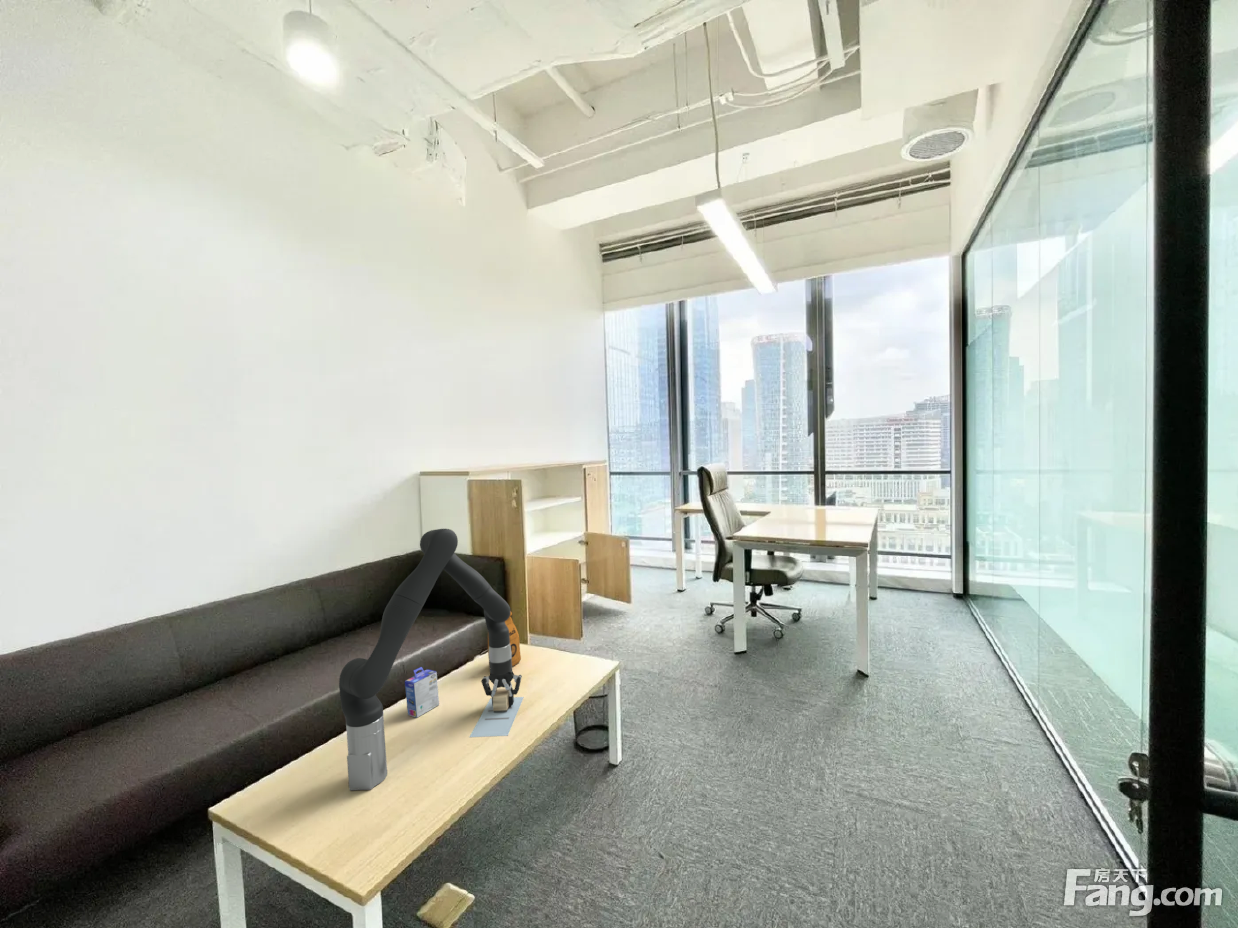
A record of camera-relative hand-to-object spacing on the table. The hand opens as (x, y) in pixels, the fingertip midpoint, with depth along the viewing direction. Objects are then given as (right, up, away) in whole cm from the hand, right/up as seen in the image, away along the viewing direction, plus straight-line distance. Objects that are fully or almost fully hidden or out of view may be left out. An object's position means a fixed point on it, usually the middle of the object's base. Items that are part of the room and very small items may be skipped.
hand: (503, 705), depth 172 cm
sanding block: (0, 0, 0) cm, 0 cm away
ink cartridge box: (-29, -3, +4) cm, 29 cm away
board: (0, -2, -6) cm, 6 cm away
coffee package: (-7, -1, +36) cm, 37 cm away
